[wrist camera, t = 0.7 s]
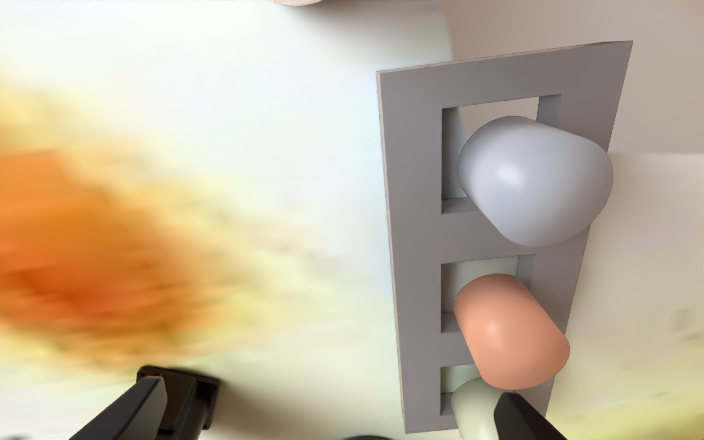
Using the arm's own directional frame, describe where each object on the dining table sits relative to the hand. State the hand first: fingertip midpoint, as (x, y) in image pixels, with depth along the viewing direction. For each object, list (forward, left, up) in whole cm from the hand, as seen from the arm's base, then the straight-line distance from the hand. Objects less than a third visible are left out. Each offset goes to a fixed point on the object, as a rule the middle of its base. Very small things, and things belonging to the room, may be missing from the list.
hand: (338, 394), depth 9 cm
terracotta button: (-3, -11, -11) cm, 16 cm away
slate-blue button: (+6, -7, -11) cm, 14 cm away
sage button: (-12, -15, -11) cm, 22 cm away
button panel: (-3, -11, -14) cm, 18 cm away
